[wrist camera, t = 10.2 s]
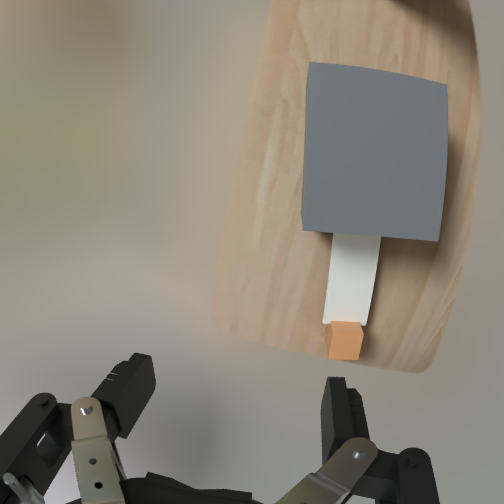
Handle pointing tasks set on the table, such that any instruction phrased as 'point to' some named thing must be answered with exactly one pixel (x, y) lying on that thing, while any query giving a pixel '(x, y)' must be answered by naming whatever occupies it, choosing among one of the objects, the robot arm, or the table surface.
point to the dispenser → (374, 153)
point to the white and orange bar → (349, 292)
